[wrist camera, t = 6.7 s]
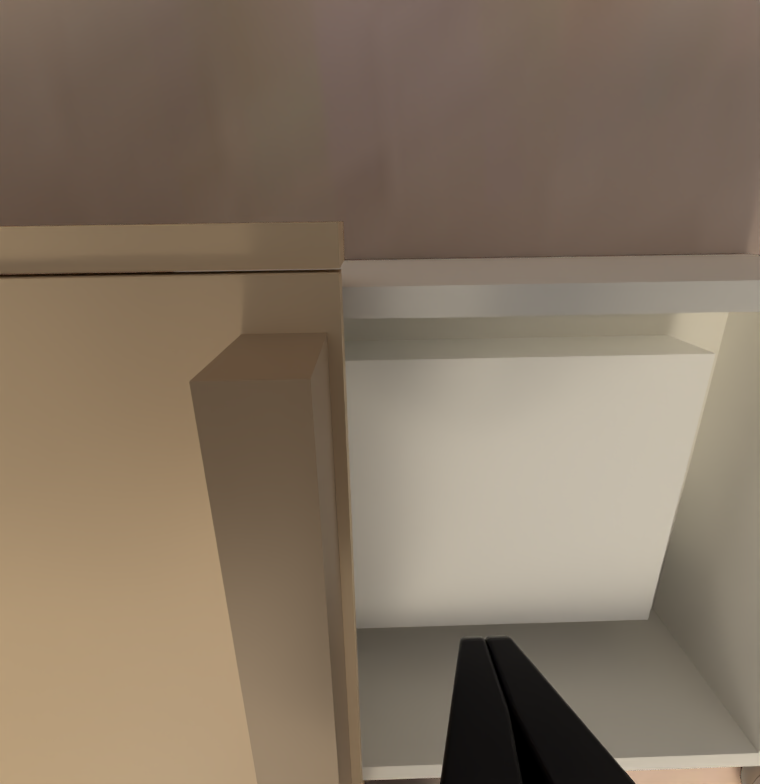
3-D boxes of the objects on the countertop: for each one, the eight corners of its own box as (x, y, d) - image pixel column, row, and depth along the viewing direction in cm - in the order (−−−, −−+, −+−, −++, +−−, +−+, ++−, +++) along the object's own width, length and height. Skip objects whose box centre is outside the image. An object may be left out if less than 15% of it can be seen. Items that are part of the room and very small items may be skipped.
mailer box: (655, 607, 16) (772, 765, 12) (257, 619, 16) (212, 785, 11) (747, 254, 12) (990, 276, 7) (207, 262, 12) (100, 290, 7)
